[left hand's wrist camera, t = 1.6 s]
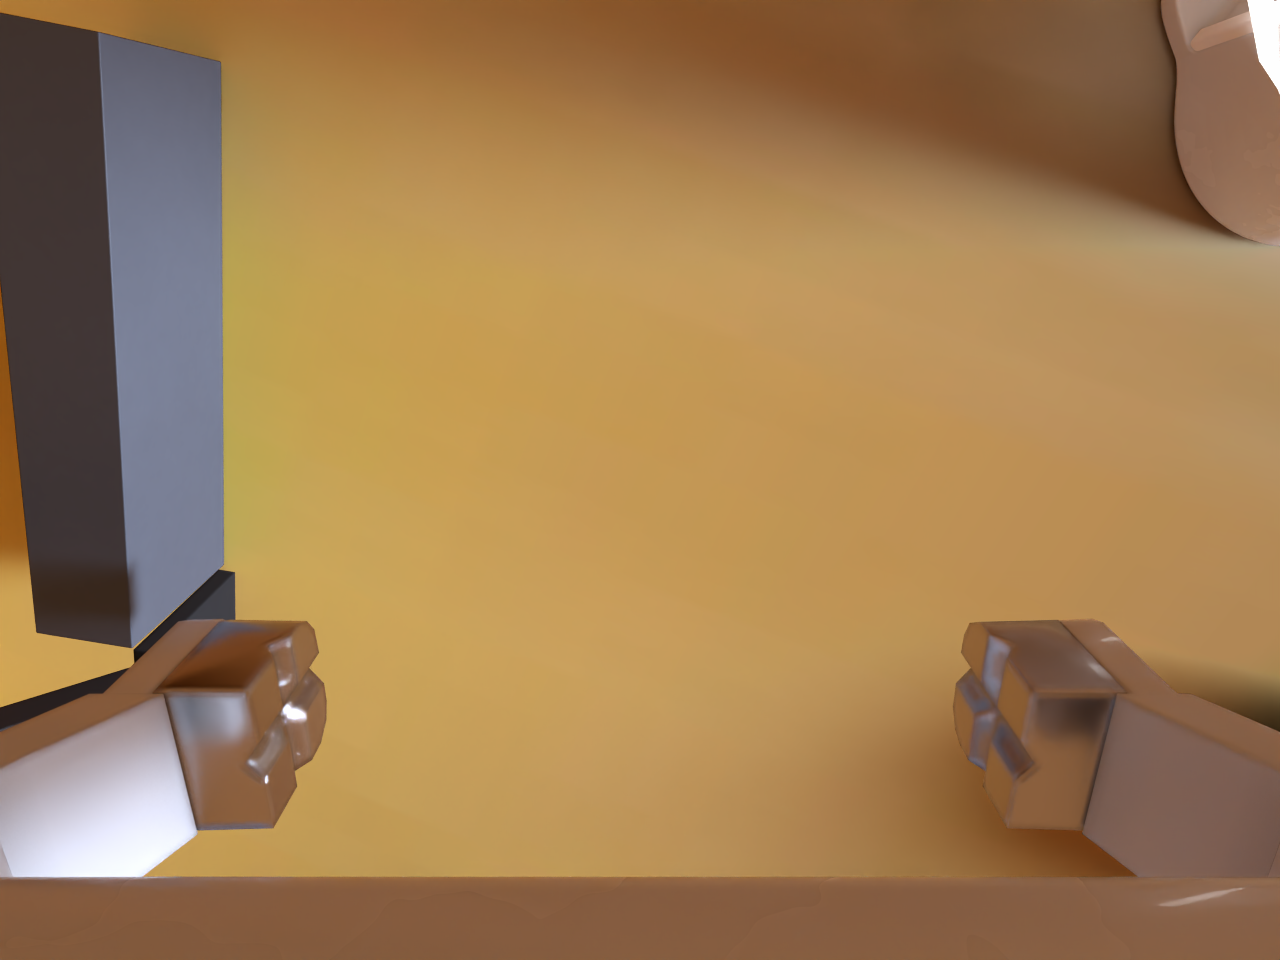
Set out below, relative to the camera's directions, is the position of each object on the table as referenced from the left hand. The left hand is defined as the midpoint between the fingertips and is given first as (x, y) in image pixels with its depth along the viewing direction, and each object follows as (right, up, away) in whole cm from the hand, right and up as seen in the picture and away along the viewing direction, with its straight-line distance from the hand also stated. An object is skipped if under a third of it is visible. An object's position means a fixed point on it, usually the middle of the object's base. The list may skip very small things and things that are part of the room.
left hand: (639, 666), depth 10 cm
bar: (-24, +10, +32) cm, 41 cm away
